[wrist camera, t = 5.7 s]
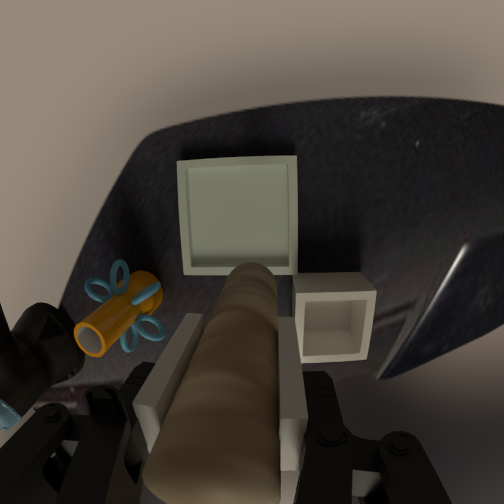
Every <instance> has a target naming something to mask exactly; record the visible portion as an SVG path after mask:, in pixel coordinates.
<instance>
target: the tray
mask: <svg viewBox="0 0 504 504" xmlns="http://www.w3.org/2000/svg"><path fill="white" fill-rule="evenodd" d="M177 180H178V201H179V218H180V233H181V246H182V259H183V270H184V275H229V274H230V273H231V271H232V270H233V269H234V268H236V267H237V266H239V265H241V264H244V263H258V264H261V265H263V266H265V267H266V268H268V269H269V270H270V271H271V272H272V273H273V275H298V194H297V156H250V157H228V158H211V159H197V160H185V161H177Z"/></svg>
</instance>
